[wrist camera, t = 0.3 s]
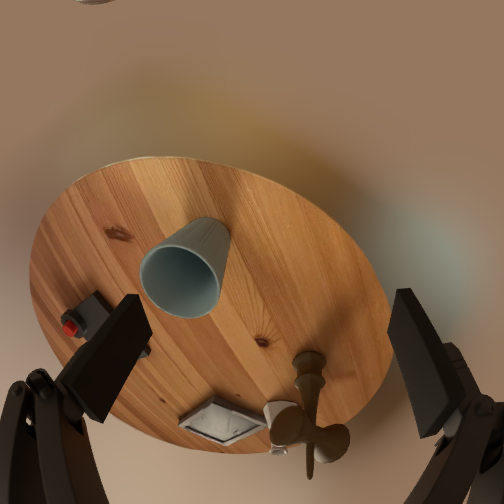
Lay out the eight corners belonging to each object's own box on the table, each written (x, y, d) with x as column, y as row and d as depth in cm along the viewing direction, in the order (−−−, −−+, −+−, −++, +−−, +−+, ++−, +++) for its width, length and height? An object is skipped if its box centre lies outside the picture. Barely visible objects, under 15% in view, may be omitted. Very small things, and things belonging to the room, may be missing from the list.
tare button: (65, 322, 41) (60, 327, 39) (70, 318, 40) (65, 323, 38) (74, 332, 41) (70, 338, 40) (80, 329, 41) (75, 334, 39)
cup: (206, 277, 35) (180, 330, 26) (166, 233, 33) (125, 274, 24) (252, 245, 32) (237, 295, 23) (209, 195, 30) (175, 226, 21)
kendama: (314, 380, 42) (316, 489, 24) (273, 354, 40) (259, 476, 22) (342, 363, 39) (355, 478, 21) (301, 334, 37) (301, 466, 20)
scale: (65, 310, 43) (57, 319, 40) (94, 286, 39) (84, 296, 36) (115, 364, 47) (108, 374, 45) (151, 350, 43) (145, 362, 41)
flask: (299, 417, 48) (298, 459, 39) (263, 417, 48) (258, 458, 40) (301, 399, 44) (300, 445, 35) (262, 398, 45) (256, 444, 36)
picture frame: (214, 394, 47) (179, 420, 54) (212, 402, 45) (177, 427, 52) (270, 419, 49) (226, 441, 56) (269, 427, 47) (225, 447, 54)
